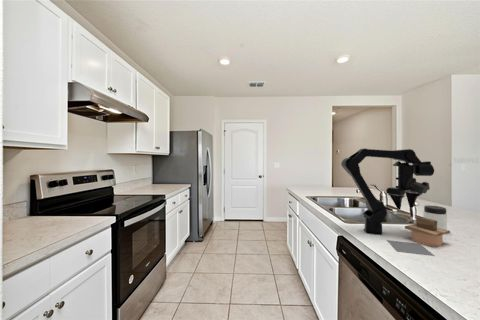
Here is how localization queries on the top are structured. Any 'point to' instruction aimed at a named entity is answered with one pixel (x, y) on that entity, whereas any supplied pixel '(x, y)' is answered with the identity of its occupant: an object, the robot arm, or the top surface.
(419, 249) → the mat
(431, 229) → the ridged wooden block
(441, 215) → the jar
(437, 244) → the bowl
